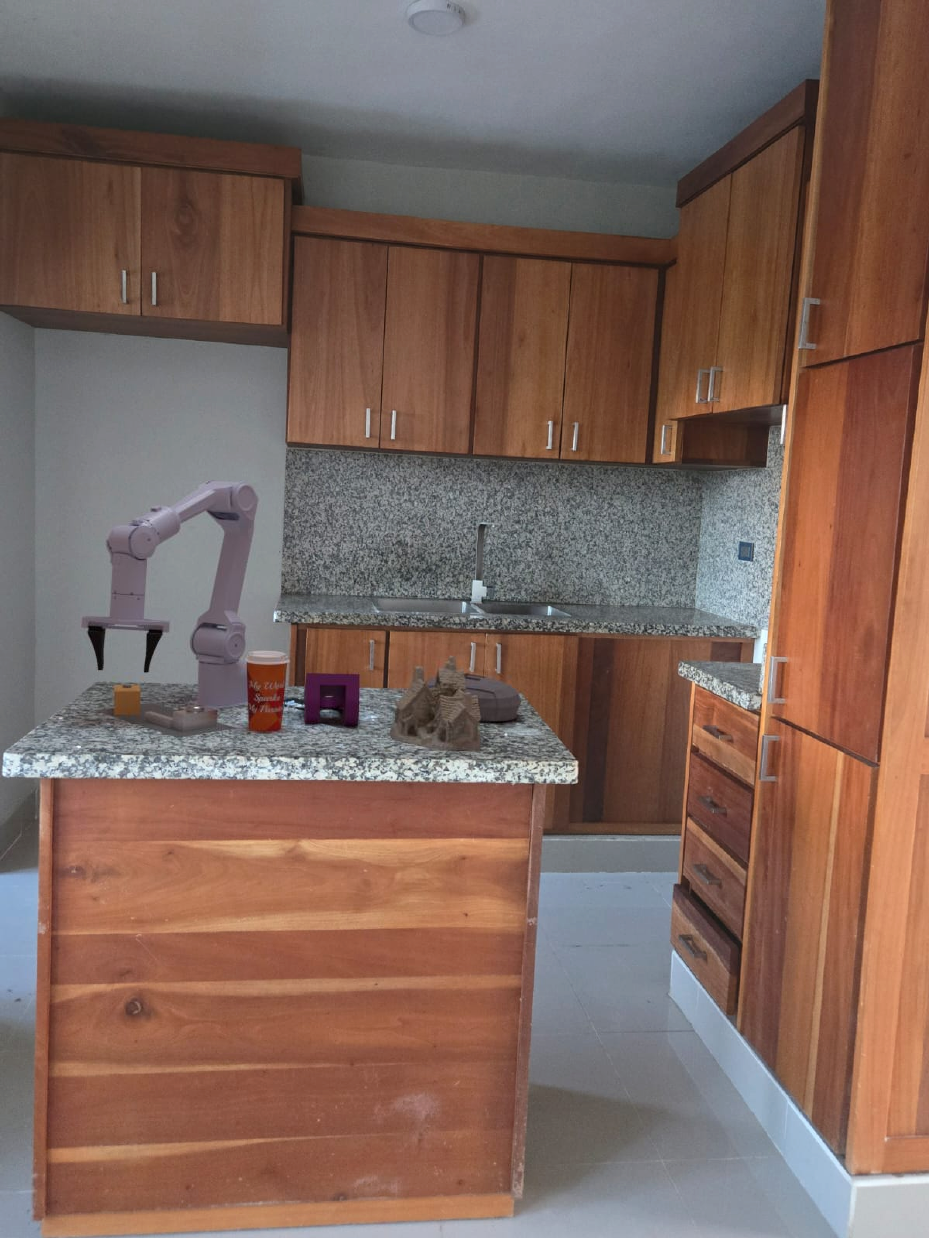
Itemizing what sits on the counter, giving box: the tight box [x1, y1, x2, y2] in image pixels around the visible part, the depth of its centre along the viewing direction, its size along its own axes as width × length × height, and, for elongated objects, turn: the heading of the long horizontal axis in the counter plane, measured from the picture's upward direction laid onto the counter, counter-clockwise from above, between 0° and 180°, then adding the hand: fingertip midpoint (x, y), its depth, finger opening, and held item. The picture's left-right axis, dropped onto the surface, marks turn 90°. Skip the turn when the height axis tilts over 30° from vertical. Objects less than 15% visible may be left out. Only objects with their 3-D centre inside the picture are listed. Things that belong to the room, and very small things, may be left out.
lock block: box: [113, 684, 141, 715], centre depth 185 cm, size 4×6×5 cm
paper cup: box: [244, 650, 291, 733], centre depth 177 cm, size 8×8×14 cm
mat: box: [94, 702, 236, 738], centre depth 181 cm, size 12×27×1 cm, turn 49°
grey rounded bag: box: [424, 672, 522, 723], centre depth 201 cm, size 15×8×20 cm
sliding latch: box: [145, 703, 218, 732], centre depth 178 cm, size 8×11×4 cm
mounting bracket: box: [303, 672, 360, 727], centre depth 191 cm, size 10×9×19 cm
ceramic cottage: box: [388, 655, 482, 752], centre depth 177 cm, size 16×16×15 cm
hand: (123, 670), depth 176 cm, fingers open, 7 cm apart
